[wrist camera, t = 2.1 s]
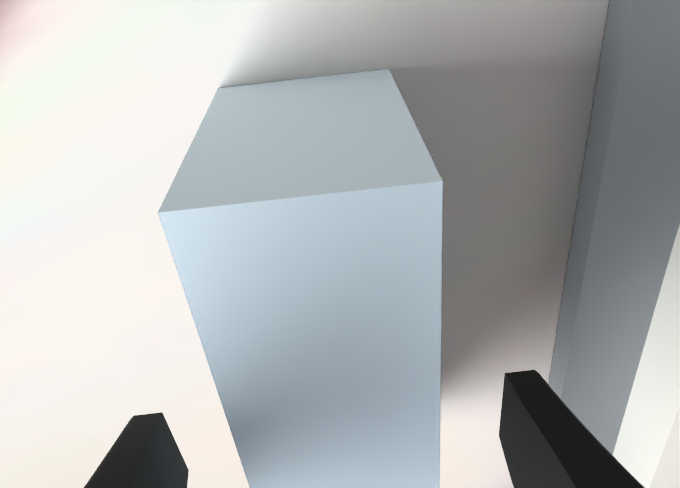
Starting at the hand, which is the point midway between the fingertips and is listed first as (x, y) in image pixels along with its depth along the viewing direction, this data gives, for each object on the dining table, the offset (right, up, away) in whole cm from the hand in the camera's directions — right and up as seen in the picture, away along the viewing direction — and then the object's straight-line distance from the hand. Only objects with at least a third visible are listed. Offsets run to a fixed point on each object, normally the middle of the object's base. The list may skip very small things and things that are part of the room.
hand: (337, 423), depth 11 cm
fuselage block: (0, +3, +4) cm, 5 cm away
